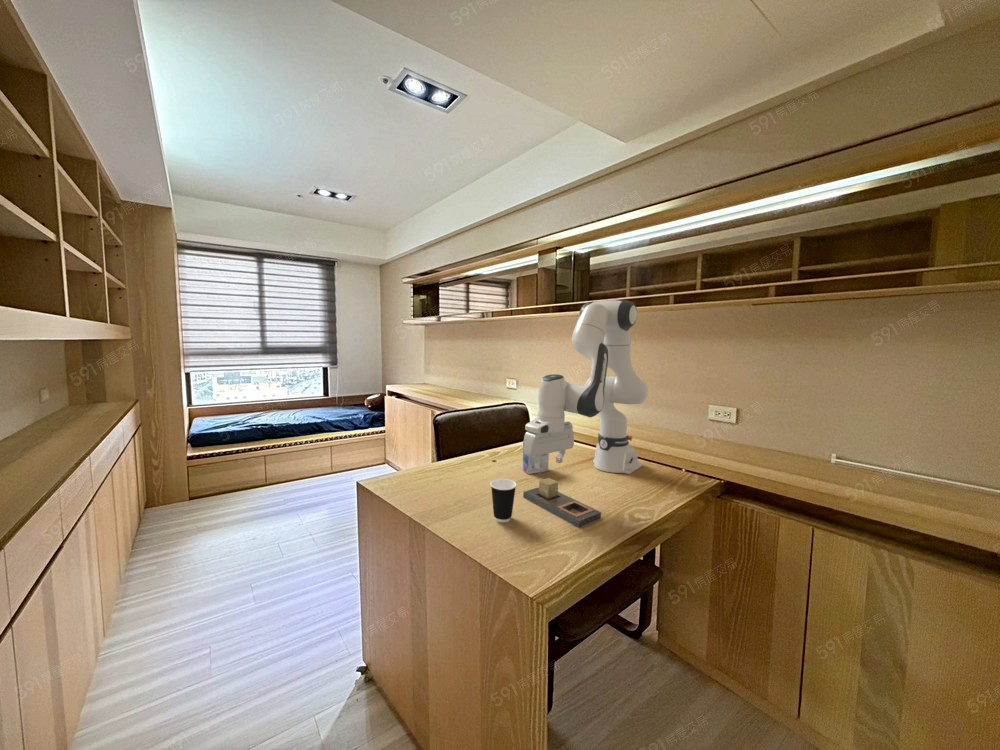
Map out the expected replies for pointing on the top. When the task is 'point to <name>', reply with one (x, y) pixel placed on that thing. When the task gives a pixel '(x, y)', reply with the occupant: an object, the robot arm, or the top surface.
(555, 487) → the tan wooden block
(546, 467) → the ink cartridge box
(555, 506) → the grey peg board
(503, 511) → the dixie cup
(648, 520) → the top surface
